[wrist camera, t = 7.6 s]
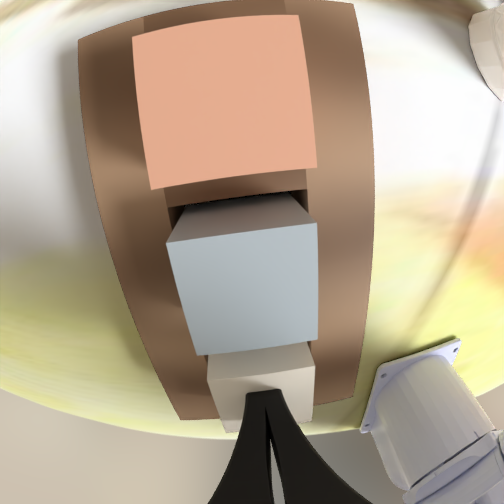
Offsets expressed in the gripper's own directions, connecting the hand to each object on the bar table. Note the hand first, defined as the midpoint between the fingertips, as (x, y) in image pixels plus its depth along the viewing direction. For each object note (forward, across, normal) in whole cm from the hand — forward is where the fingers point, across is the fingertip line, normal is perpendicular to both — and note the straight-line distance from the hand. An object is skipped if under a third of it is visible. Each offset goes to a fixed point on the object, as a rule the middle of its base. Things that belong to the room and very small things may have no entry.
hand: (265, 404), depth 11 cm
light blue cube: (+4, 0, -5) cm, 7 cm away
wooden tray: (+5, 0, -6) cm, 8 cm away
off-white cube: (+4, 0, 0) cm, 4 cm away
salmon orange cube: (+4, 0, -11) cm, 12 cm away
